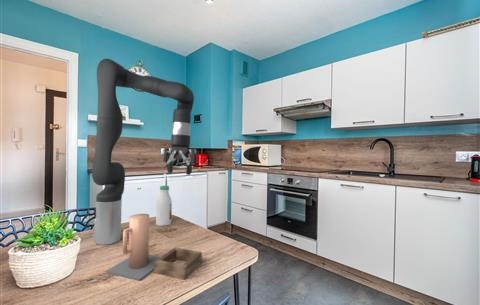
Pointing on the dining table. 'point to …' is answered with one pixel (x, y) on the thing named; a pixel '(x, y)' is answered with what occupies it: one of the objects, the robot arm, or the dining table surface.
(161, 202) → the milk bottle
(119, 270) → the charcoal mat
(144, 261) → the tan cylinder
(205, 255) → the dining table surface
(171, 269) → the walnut collar
